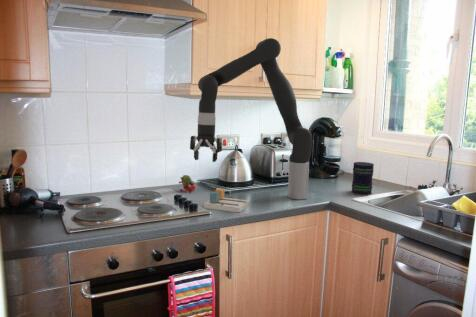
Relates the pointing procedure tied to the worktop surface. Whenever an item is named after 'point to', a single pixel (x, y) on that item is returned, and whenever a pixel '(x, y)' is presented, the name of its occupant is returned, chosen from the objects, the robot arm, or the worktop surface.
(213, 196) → the fader teal
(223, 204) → the console
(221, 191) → the fader orange
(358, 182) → the storage jar
